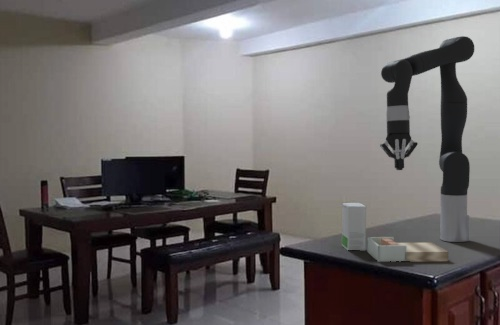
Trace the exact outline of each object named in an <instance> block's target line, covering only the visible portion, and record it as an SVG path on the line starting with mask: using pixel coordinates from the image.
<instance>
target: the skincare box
mask: <svg viewBox="0 0 500 325" xmlns="http://www.w3.org/2000/svg"><path fill="white" fill-rule="evenodd" d="M341 211H342V214H341V215H342V218H341V220H342V222H341V246H342V247H343V248H344V249H345V250H347V251H348V250H360V251H366V238H367V237H366V234H367V230H366V229H367V206H366V205H364V204H362V203H361V202H343V203H342V210H341Z"/></svg>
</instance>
